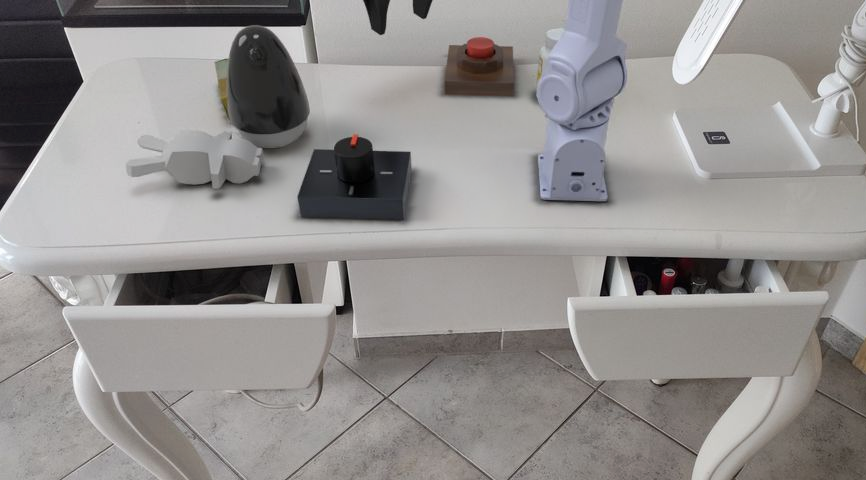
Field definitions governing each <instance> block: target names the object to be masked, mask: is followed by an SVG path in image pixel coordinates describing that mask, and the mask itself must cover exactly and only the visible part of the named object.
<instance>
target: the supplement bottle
mask: <svg viewBox="0 0 866 480" xmlns="http://www.w3.org/2000/svg"><path fill="white" fill-rule="evenodd" d="M564 31H565V28H562V27H557V28H552V29H549V30H547V32H546V34H545V41H544V42H545V44H544V45H543V46H542V47H541V48H540V50H539V55H538V64H537V76H536V86H535V96H536V98H537V84H538V80H539V78H540V77H541V75H542V74H543V73H544V71H545V69H546V66H547V61H548V56H549V54H550V52H551V51H552V49H553V48H554V46H555V45H556V43H557V42H558V40H559V39H560V38H561V36H562V35H563V33H564ZM536 100H538V98H537V99H536Z"/></svg>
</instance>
